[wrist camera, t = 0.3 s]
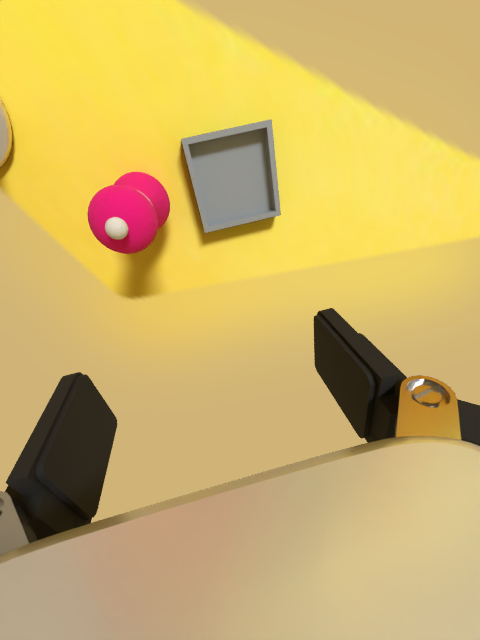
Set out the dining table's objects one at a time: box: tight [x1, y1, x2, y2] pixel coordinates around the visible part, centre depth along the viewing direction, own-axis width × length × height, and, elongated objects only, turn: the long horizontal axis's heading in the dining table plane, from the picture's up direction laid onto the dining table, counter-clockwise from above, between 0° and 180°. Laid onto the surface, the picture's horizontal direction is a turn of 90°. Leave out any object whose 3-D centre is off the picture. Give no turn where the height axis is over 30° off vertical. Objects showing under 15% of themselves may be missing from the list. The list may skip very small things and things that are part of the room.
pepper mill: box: [88, 172, 170, 254], centre depth 30 cm, size 7×7×20 cm
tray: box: [181, 120, 281, 233], centre depth 38 cm, size 12×12×2 cm
